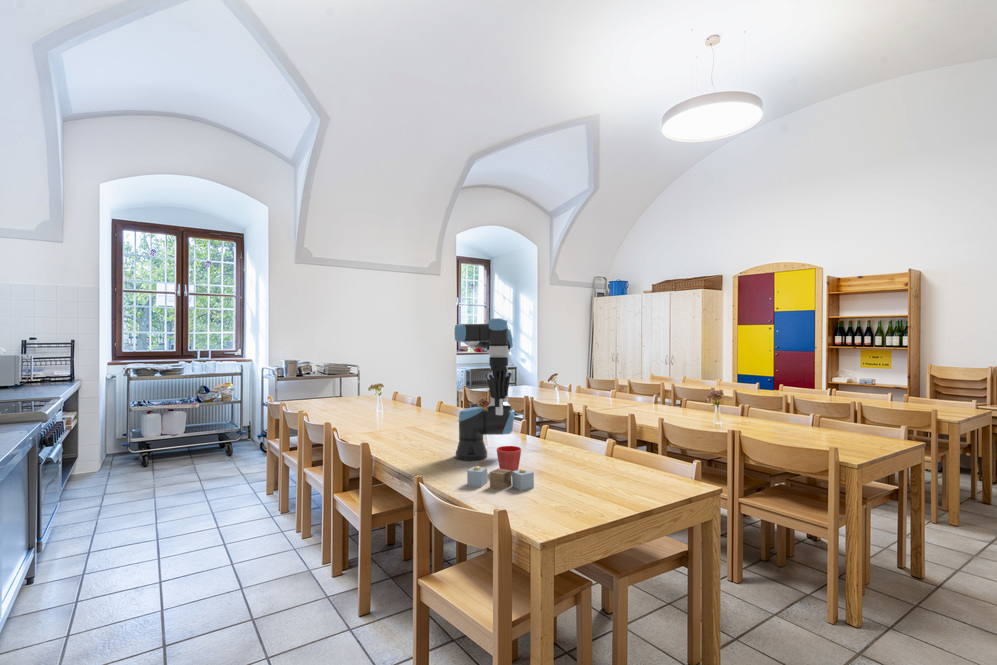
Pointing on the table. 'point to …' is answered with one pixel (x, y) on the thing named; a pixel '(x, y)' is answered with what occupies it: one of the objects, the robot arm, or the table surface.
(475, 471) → the stud block
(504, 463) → the flower pot
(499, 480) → the walnut block
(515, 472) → the stud block
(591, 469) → the table surface
